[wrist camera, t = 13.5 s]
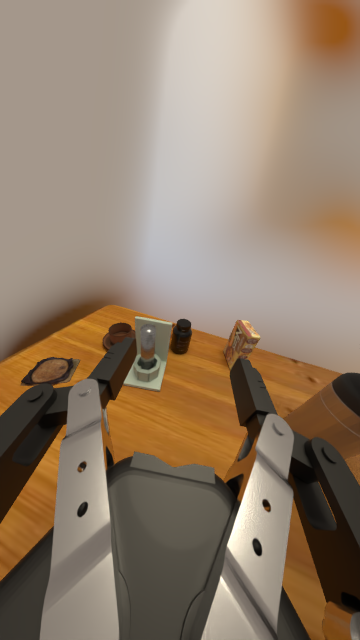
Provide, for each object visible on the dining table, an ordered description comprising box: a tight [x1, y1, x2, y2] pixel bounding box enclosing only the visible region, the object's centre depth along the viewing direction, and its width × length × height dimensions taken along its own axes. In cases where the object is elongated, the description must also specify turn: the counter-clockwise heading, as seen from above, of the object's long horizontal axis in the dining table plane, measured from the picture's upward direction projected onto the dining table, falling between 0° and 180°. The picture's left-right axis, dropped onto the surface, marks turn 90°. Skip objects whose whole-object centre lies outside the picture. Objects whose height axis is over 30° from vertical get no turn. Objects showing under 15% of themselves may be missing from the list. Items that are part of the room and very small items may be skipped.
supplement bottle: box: [171, 319, 192, 354], centre depth 49 cm, size 7×7×12 cm
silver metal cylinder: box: [140, 324, 156, 370], centre depth 36 cm, size 4×4×16 cm
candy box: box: [223, 320, 260, 370], centre depth 46 cm, size 9×4×15 cm, turn 1°
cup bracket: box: [123, 316, 172, 392], centre depth 37 cm, size 10×10×16 cm
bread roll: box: [21, 357, 80, 386], centre depth 37 cm, size 11×9×4 cm
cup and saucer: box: [103, 322, 136, 349], centre depth 49 cm, size 12×12×6 cm
